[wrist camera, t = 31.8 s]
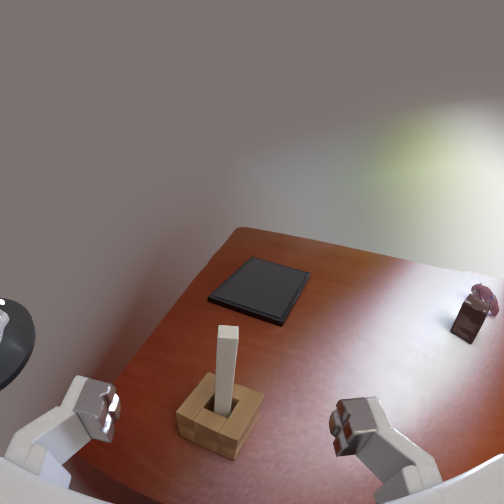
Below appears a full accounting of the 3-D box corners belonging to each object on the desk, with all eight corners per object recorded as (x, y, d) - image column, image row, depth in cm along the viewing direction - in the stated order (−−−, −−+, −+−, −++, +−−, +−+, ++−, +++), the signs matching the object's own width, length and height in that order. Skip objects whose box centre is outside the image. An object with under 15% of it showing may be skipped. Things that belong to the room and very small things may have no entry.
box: (477, 334, 48) (491, 305, 45) (471, 345, 44) (487, 315, 41) (456, 321, 52) (470, 292, 49) (449, 331, 49) (463, 301, 46)
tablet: (282, 326, 48) (283, 321, 47) (207, 301, 52) (207, 296, 52) (309, 276, 65) (310, 272, 65) (251, 260, 69) (252, 256, 69)
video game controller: (467, 302, 63) (469, 282, 60) (478, 295, 63) (480, 275, 60) (488, 323, 54) (492, 302, 51) (499, 315, 54) (503, 294, 51)
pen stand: (179, 435, 27) (175, 411, 25) (208, 397, 33) (208, 371, 31) (234, 461, 25) (237, 440, 23) (258, 418, 31) (264, 394, 29)
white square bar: (213, 433, 28) (217, 337, 22) (214, 422, 30) (218, 324, 24) (227, 434, 28) (238, 338, 22) (228, 423, 30) (238, 326, 24)
